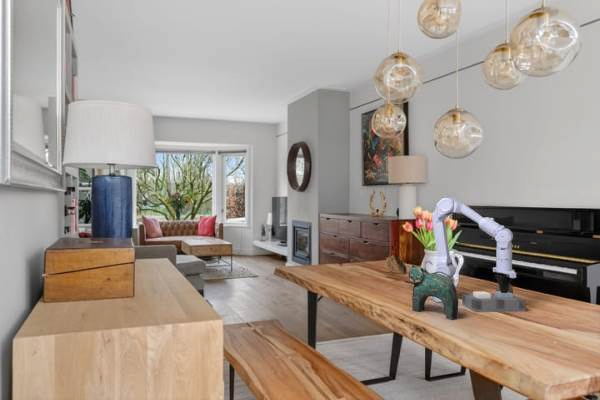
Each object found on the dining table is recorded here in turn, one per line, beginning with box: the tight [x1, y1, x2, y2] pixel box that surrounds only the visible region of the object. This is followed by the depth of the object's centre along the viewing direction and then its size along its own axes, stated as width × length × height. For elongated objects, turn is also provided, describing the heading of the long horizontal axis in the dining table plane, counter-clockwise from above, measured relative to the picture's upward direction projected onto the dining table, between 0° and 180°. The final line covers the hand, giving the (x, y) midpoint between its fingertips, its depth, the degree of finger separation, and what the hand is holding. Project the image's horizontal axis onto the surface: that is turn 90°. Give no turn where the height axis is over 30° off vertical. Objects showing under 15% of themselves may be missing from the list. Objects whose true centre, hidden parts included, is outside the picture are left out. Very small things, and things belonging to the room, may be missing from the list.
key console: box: [461, 292, 527, 313], centre depth 176 cm, size 20×12×4 cm, turn 92°
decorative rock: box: [385, 254, 408, 275], centre depth 259 cm, size 12×6×11 cm, turn 50°
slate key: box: [494, 290, 514, 298], centre depth 176 cm, size 5×5×4 cm
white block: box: [472, 291, 491, 298], centre depth 176 cm, size 5×5×4 cm
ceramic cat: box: [408, 260, 459, 321], centre depth 166 cm, size 20×6×20 cm, turn 37°
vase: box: [495, 284, 514, 295], centre depth 191 cm, size 7×7×9 cm
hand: (503, 292), depth 176 cm, fingers closed, pressing on slate key
